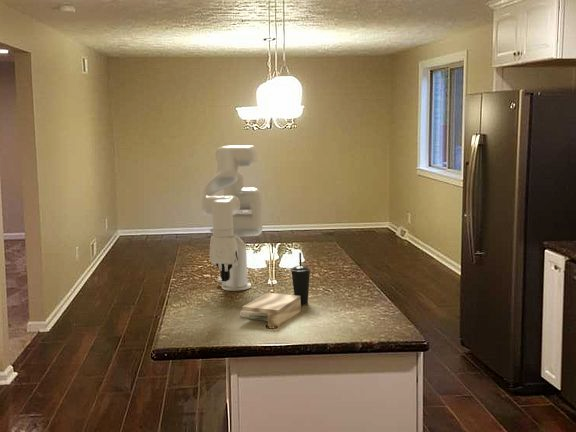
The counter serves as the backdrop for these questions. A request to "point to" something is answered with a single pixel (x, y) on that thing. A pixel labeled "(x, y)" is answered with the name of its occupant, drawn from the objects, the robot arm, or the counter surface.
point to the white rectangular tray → (252, 313)
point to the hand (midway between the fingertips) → (225, 280)
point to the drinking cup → (301, 281)
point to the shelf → (274, 307)
